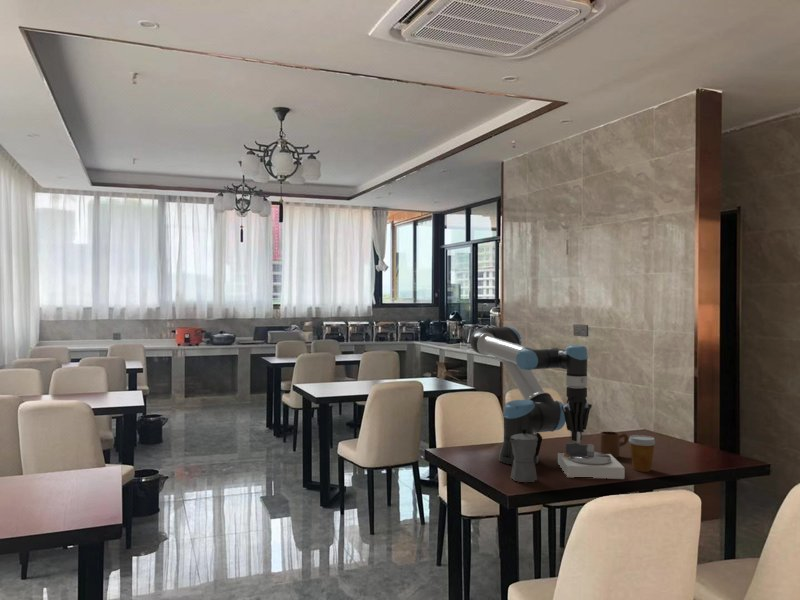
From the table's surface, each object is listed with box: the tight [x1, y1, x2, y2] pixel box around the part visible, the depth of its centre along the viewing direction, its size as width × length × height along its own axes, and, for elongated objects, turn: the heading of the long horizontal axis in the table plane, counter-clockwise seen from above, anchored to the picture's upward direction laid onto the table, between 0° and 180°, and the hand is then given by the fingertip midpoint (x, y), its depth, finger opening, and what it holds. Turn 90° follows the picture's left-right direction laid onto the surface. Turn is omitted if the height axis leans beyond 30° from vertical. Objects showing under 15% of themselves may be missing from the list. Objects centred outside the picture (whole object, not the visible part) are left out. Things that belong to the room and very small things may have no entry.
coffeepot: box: [509, 428, 543, 483], centre depth 226 cm, size 15×9×18 cm, turn 125°
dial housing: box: [557, 452, 626, 480], centre depth 238 cm, size 20×20×5 cm
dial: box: [565, 442, 611, 465], centre depth 238 cm, size 16×15×5 cm
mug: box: [599, 431, 629, 459], centre depth 261 cm, size 12×8×9 cm, turn 103°
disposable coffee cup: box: [628, 434, 657, 473], centre depth 241 cm, size 10×10×12 cm
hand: (576, 448), depth 242 cm, fingers closed
